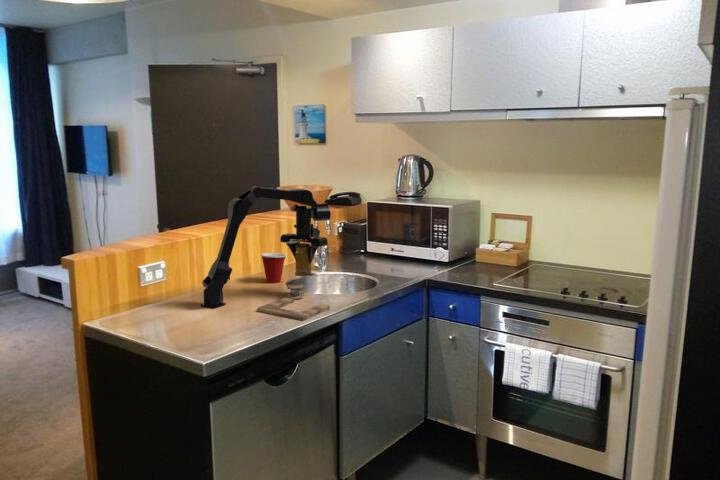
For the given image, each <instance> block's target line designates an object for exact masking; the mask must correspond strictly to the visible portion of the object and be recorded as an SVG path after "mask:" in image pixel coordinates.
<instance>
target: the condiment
mask: <svg viewBox="0 0 720 480" xmlns="http://www.w3.org/2000/svg"><path fill="white" fill-rule="evenodd" d="M310 244H311V243H306V242H300V243H299V244H297V245H296V252H295V254H296V260H295V271H294V277H314V276H315V277H317V275H318V273H317V271H312V263H309V257H308V249H307V246H310Z"/></svg>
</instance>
